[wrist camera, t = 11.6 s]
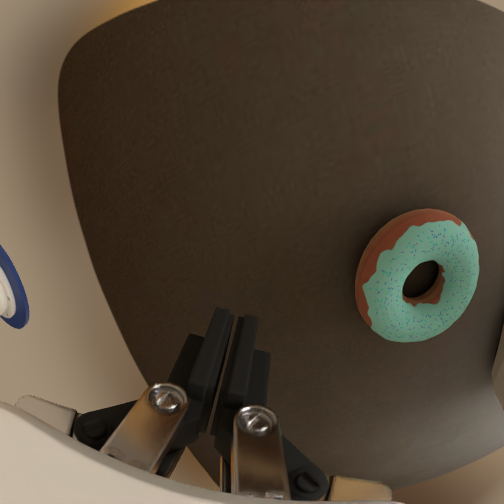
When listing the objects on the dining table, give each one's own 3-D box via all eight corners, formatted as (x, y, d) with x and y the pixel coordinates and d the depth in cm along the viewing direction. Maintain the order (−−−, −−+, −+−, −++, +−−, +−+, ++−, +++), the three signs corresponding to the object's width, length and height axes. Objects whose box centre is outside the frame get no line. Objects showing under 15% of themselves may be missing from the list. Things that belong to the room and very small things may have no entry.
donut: (356, 337, 25) (364, 365, 21) (339, 218, 21) (350, 235, 17) (460, 307, 22) (477, 329, 19) (463, 192, 18) (489, 203, 15)
